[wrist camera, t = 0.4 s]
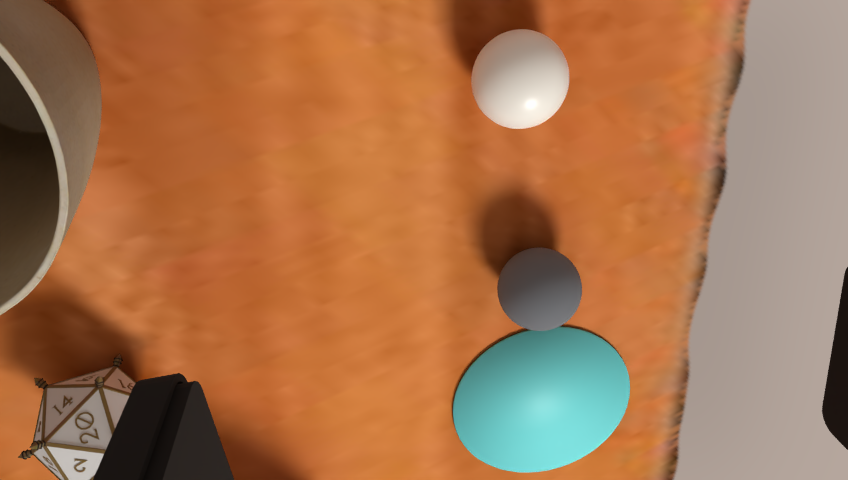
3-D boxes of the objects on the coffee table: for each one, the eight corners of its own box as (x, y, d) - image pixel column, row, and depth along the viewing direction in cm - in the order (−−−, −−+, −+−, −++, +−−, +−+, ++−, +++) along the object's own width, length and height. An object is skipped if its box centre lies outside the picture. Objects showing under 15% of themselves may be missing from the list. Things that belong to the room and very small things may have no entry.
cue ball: (458, 31, 39) (475, 48, 34) (549, 14, 39) (580, 28, 34) (469, 122, 42) (488, 149, 37) (555, 105, 42) (585, 130, 37)
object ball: (485, 242, 45) (503, 281, 40) (564, 226, 46) (592, 264, 41) (494, 310, 48) (512, 355, 43) (569, 295, 48) (595, 338, 43)
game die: (102, 350, 50) (-28, 371, 40) (198, 346, 47) (84, 367, 38) (107, 473, 49) (-23, 523, 40) (204, 475, 47) (91, 530, 37)
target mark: (440, 347, 49) (441, 349, 48) (627, 309, 49) (628, 311, 49) (465, 485, 55) (465, 487, 55) (630, 450, 55) (631, 452, 55)
